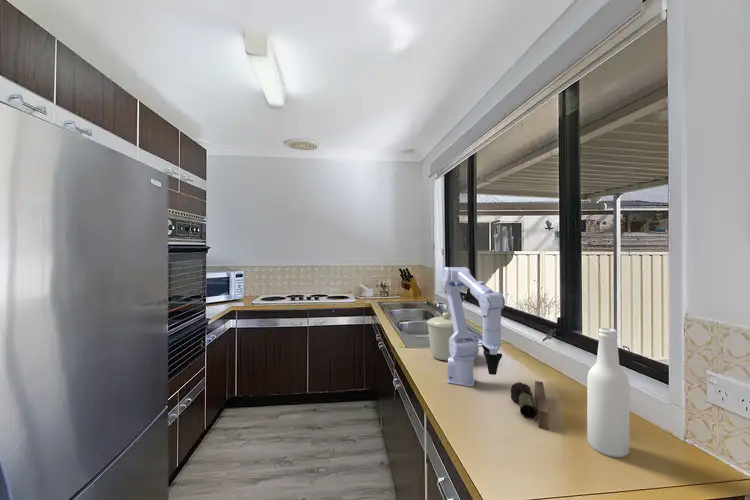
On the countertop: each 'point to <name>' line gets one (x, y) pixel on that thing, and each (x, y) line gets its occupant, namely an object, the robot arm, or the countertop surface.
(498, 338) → the robot arm
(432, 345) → the canister
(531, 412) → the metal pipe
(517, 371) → the countertop surface
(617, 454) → the alcohol
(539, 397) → the brown wooden plank
